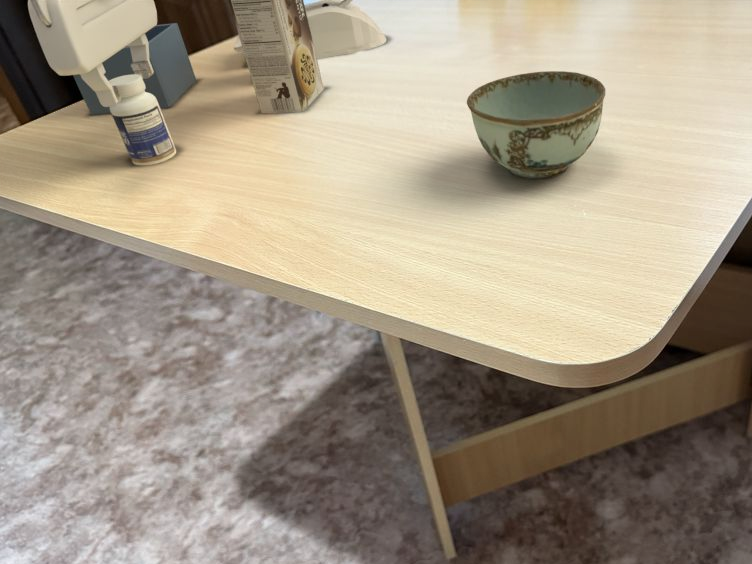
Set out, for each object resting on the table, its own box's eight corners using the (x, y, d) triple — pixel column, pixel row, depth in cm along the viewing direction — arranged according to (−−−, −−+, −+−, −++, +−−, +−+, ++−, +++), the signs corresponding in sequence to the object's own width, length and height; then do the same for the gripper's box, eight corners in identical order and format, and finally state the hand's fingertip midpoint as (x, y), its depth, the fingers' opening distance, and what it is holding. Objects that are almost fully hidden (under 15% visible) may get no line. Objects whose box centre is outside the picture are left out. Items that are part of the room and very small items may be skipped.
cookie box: (284, 93, 101) (252, -30, 91) (326, 91, 100) (297, -34, 90) (260, 116, 94) (221, -14, 84) (304, 115, 93) (270, -18, 83)
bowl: (632, 169, 70) (637, 89, 65) (528, 213, 65) (523, 131, 60) (548, 133, 80) (546, 61, 75) (450, 170, 74) (441, 95, 69)
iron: (247, 54, 120) (219, -43, 111) (384, 33, 122) (368, -64, 112) (241, 72, 112) (210, -31, 102) (389, 50, 113) (371, -54, 104)
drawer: (170, 110, 100) (145, 45, 95) (92, 118, 101) (63, 54, 96) (205, 75, 112) (185, 16, 107) (135, 82, 114) (112, 24, 108)
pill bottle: (134, 156, 87) (101, 77, 81) (178, 147, 88) (148, 69, 82) (131, 172, 83) (96, 91, 77) (177, 162, 84) (145, 81, 78)
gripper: (53, -27, 64) (117, 120, 72) (141, -64, 79) (185, 61, 88) (-10, -19, 64) (61, 126, 73) (90, -57, 80) (138, 66, 89)
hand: (130, 90), depth 81 cm, fingers open, 8 cm apart
